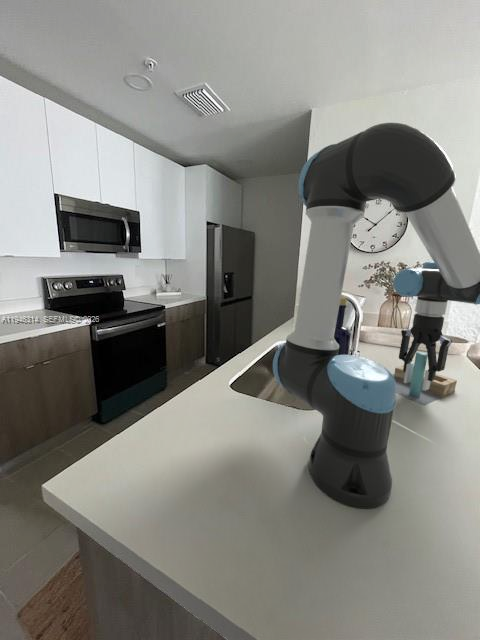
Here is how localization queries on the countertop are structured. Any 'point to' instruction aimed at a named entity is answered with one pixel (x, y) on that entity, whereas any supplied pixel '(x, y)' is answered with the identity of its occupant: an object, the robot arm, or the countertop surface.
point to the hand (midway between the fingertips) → (416, 385)
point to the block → (432, 382)
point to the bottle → (342, 330)
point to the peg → (418, 374)
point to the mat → (423, 399)
